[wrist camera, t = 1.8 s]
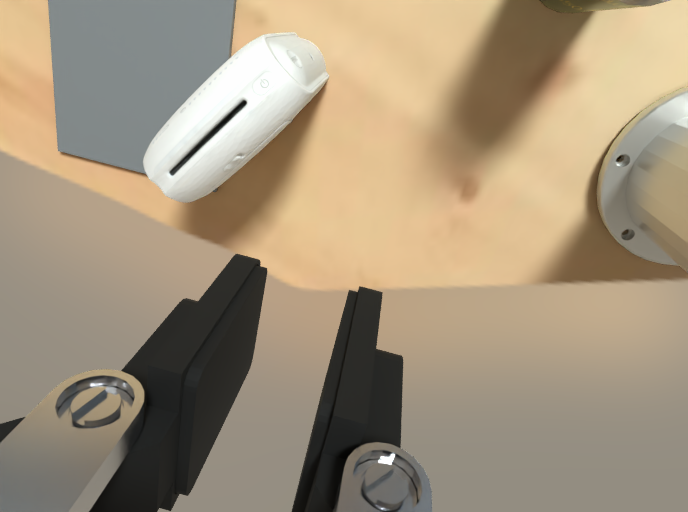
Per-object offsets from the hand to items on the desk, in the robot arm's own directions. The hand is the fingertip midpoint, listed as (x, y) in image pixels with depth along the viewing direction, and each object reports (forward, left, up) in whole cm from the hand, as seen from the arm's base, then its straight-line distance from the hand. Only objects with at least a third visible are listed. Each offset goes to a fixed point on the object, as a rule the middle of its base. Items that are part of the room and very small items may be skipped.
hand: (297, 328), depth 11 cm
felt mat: (+18, 0, -25) cm, 31 cm away
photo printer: (+8, 0, -25) cm, 26 cm away
